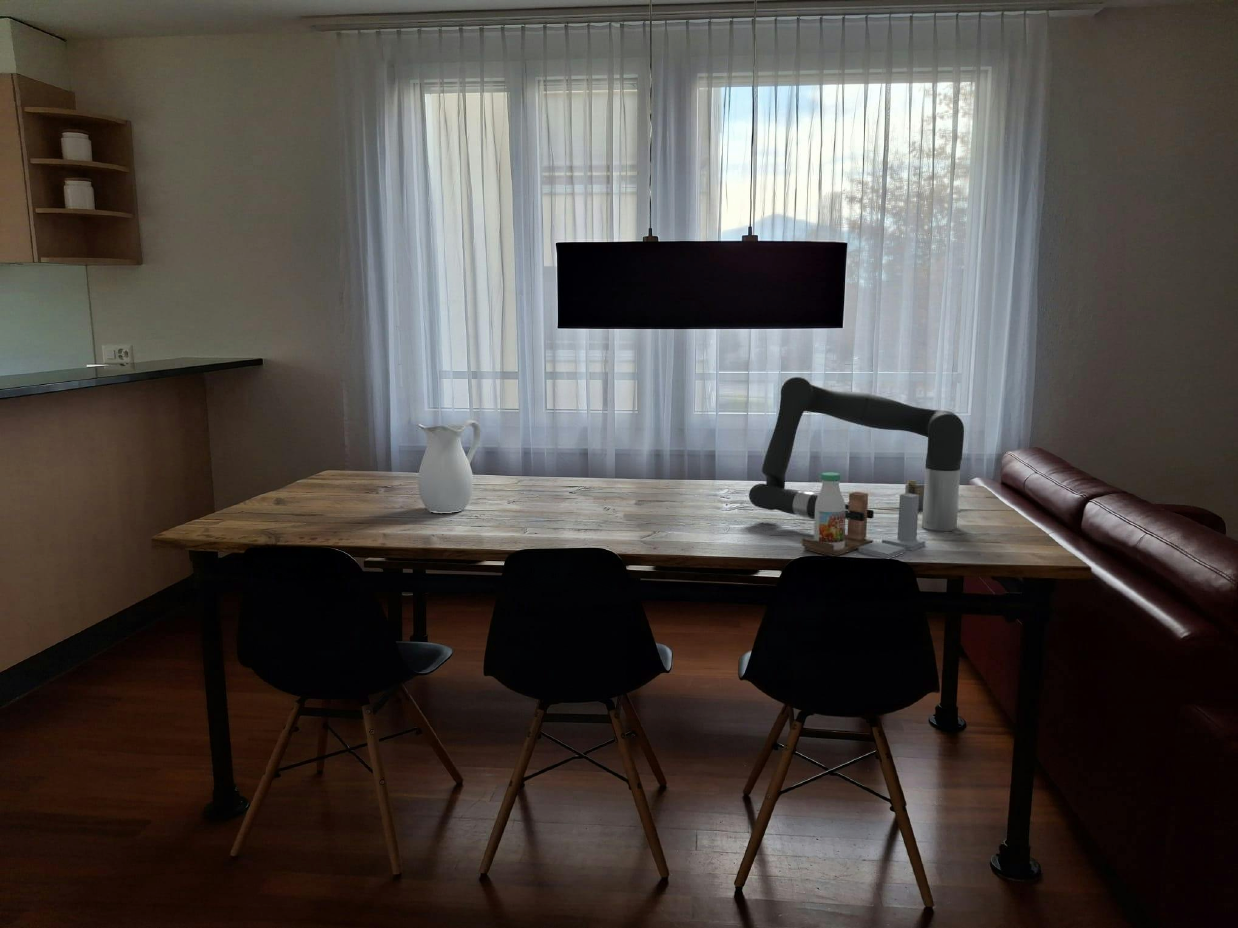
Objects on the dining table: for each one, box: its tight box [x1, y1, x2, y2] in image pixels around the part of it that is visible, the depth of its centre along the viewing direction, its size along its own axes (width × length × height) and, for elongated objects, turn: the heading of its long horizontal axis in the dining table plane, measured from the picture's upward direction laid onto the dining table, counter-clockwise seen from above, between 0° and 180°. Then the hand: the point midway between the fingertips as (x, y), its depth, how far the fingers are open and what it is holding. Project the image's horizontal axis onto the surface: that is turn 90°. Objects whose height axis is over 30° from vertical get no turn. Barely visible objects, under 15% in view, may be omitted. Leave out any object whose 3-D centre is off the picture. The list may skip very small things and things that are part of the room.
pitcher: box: [417, 419, 482, 512], centre depth 264 cm, size 24×17×28 cm
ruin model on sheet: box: [904, 479, 924, 509], centre depth 265 cm, size 11×3×10 cm, turn 86°
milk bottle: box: [813, 471, 846, 550], centre depth 216 cm, size 8×8×20 cm
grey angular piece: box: [858, 492, 926, 559], centre depth 218 cm, size 18×8×13 cm, turn 132°
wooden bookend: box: [801, 491, 874, 557], centre depth 219 cm, size 20×9×13 cm, turn 132°
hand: (868, 515), depth 222 cm, fingers open, 3 cm apart
